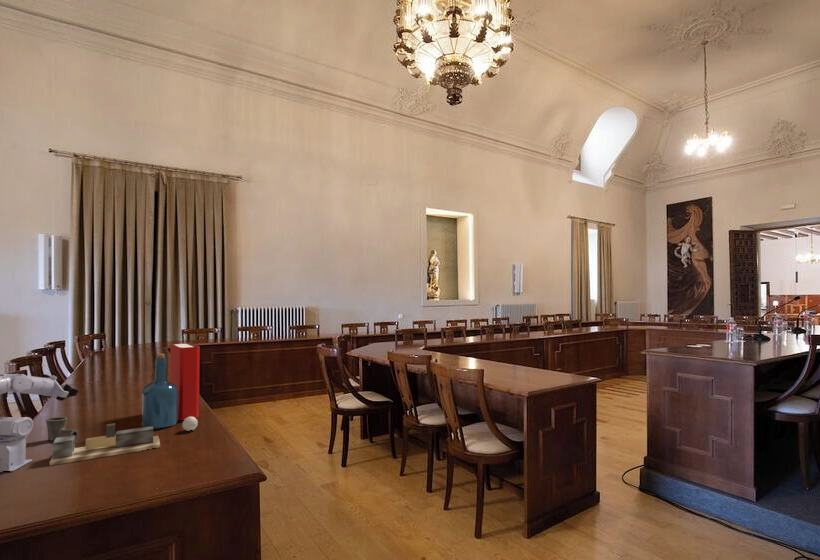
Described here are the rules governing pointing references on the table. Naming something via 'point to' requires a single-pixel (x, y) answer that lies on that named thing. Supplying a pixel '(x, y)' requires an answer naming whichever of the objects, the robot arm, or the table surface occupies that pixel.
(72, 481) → the table surface
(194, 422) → the white oval ball
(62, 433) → the pipe
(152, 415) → the wine bottle
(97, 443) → the tan flat block
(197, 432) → the table surface
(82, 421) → the table surface
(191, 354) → the book
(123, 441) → the grey blocks on plank
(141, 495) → the table surface
